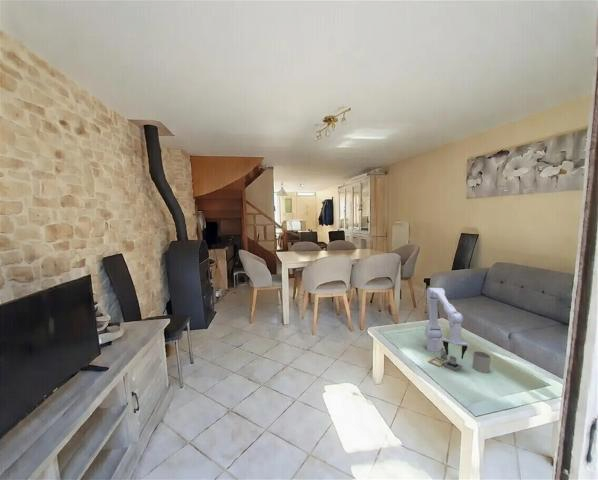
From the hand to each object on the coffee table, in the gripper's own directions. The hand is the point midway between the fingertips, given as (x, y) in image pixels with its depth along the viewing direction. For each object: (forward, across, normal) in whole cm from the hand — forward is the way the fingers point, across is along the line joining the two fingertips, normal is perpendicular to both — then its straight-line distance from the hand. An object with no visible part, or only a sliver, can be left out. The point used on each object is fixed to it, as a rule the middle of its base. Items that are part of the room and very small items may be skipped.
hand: (454, 356), depth 156 cm
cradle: (+9, -1, +4) cm, 9 cm away
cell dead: (+7, -7, +11) cm, 15 cm away
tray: (+8, -10, +3) cm, 13 cm away
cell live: (+8, -1, +2) cm, 8 cm away
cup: (+9, +13, +11) cm, 19 cm away
